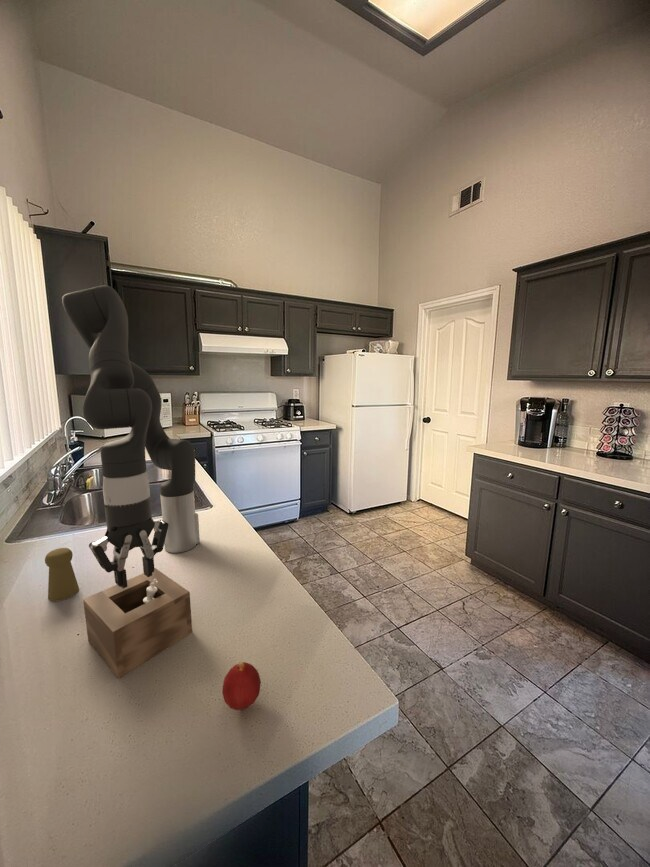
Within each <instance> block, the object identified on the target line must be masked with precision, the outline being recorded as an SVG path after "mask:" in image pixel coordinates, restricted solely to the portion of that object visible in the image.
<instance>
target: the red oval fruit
mask: <svg viewBox="0 0 650 867" xmlns="http://www.w3.org/2000/svg"><path fill="white" fill-rule="evenodd" d="M261 685H262V682H261V677H260V673H259V671H258V669H257V668H256V667H255V666H254V665H252V664H251V663H247V662H245V661H244V662H241V661H240V662H238V663H237V664H235V665H233V666H232V667H231V668H230V669H229V670H228V671H227V674H226V675H225V676H224V679H223V684H222V697H223V700H224V703H225V704H226V705H227V706H228V707H229V708H230V709H232V710H234V711H243V710H245V709H247V708H250V707H251V706H253V705H254V703H255V702H256V701H257V699H258V697H259V695H260V692H261Z"/></svg>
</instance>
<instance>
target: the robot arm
mask: <svg viewBox="0 0 650 867" xmlns="http://www.w3.org/2000/svg"><path fill="white" fill-rule="evenodd" d="M61 299H62V300H61V302H62V306H63V308H64V309H63V310H64V312H65V313H66V315H67V318H68V319H69V321H70V322H71V324H72V325H73V327H74V328H75V329H76V330H75V331H77V333H78V334H79V336H80V337H81V339H82V340H83V342H84V343H85V345H86V346H87V348H88V349H89V353H88V367H89V372H90V373H89V375H90V383H89V387H88V390H87V392H86V394H85V396H84V401H83V404H82V413H83V418H84V419H85V421H86V423H87V424H88V425H89V426H91V427H92V428H94V429H97V430H112V429H124V428H125V429H126V428H131V429H130V431H129V433H128V434H127V435H126V436H124V437H122V438H119V439H116V440H113V441H108V442H107V443H105V444H102V446H101V447H100V461H101V470H102V494H103V504H104V513H105V522H106V524H105V525H106V532H105V533H104V536H103V537H102V538H101V539H99V540H97V541H91V542H90V543H89V545H88V547H89V549H90V550H91V553H92V554H93V556H94V557H95V559H96V561H97V562H98V564H99V565H100V567H101V568H102V569H103V570H104V571H105V572H106V573H109V574H110V573H112V572H113V575H114V582H115V585H118V586H119V587H122V588H125V587H127V580H128V578H127V570H126V568H125V565H126V560H127V558H128V557H129V552H130V551H132V550H133V549H135V548H139V549H140V552H141V553H142V555H143V556H142V558H141V559H142V560H141V561H142V569H143V570H142V572H143V573H144V575H146V576H147V577H150V576H152V572H154V568H155V561H154V560H155V559H154V557H155V555H156V554H158V553H161V552H162V551H163V550H165V551H166V552H167V553H172V554H177V553H183V552H187V551H190V550H192V549H194V548H195V547H196V546H197V545H198V544H200V543H201V541H200V540H201V539H200V523H199V514H198V513H197V512H196V507H195V506H196V505H195V489H194V488H195V487H194V485H195V481H196V451H195V447H194V445H193V443H192V442H191V441H189V440H187V439H182V438H181V439H180V438H179V439H177V438H171V437H169V436H168V435H167V433H166V432H165V429H164V428H163V426H162V423H161V412H162V397H161V394H160V392H159V390H158V388H157V386H156V384H155V382H154V380H153V378H152V376H151V375H150V374H149V372H147V371H146V370H145V369H144V368H142V367H141V366H139V365H137V364H136V363H134V362H133V361H131V359H130V357H129V355H130V354H129V316H128V313H127V310H126V309H127V308H126V307H125V304H124V302H123V300H122V299H121V297H120V295H119V293H118V292H117V291H116V290H115V289H114V288H113V287H112V286H109V285H107V284H106V285H98V286H93V287H89V288H84V289H80V290H77V291H72V292H69V293H65V294H63V296H62V297H61ZM146 452H147V454H148V457H149V459H150V460H151V462H152V464H153V465H154V466H155V467H156V468H159V469H160V470H166V471H171V474H170V475H171V478H170V479H169V480H166V481H163V482H162V483H161V484H160V486H159V493H160V496H159V497H160V505H161V506H160V507H161V519H158V520H157V521H155V520H154V519H153V518H152V517H153V516H152V514H153V513H152V512H153V511H152V500H151V486H150V481H149V476H148V472H147V460H146ZM152 531H153V532H154V534H153V538H152V542H151V541H150V539H149V538H150V535H151V533H152ZM109 543H110V544H112V546H113V552H112V554H113V557H112V561H111V560H110V559H109V558H108V556H107V554H106V551H107V550H108V546H107V545H108V544H109ZM196 544H197V545H196Z"/></svg>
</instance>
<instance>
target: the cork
mask: <svg viewBox="0 0 650 867" xmlns="http://www.w3.org/2000/svg"><path fill="white" fill-rule="evenodd" d="M73 554H74V553H73V551H72V550H71V549H70V548H68V547H60V548H55V549H53V550H50V551H49V552H48V553H46V554H45V555H46V556H45V557H44V562H45V564H46V567H48V585H47V586H48V588H47V599H48V601H51V602H59V601H64V600H66V599H69V598H71V597H73V596H75V595H76V594H77V593H78V592H79V590H80V587H79V583H78V580H77V577H76V573H75V570H74V568H73V564H72V560H73Z"/></svg>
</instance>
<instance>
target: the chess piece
mask: <svg viewBox="0 0 650 867" xmlns="http://www.w3.org/2000/svg"><path fill="white" fill-rule="evenodd" d="M157 583H158V581H157V580H156V579H153V582H152V583H150V586H149V587H147V589H146V591H147V597H145V598H144V599H143V602H144V603H147V602H149V601H151V600H153V599H154V598H153V596H154V594H155V593H156V592H157V587H155V584H157Z"/></svg>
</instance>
